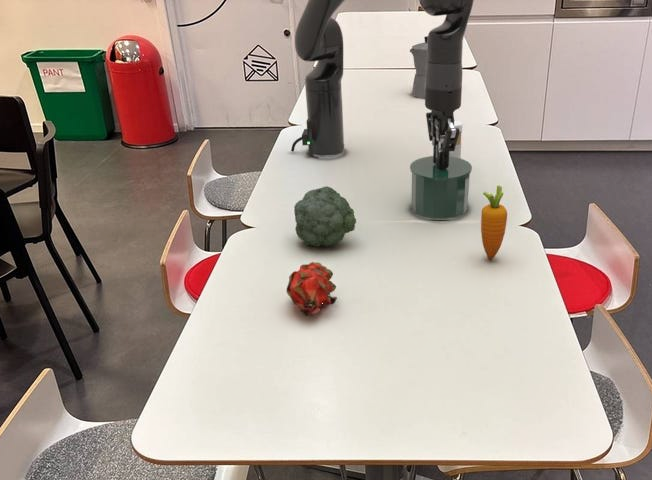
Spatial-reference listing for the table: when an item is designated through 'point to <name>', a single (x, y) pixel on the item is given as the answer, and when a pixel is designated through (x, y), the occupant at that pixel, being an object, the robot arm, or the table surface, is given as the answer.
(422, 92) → the coffeepot
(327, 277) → the dragon fruit
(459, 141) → the sprinkles bottle
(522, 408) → the table surface
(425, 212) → the pot
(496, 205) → the carrot
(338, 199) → the vegetable
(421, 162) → the lid
